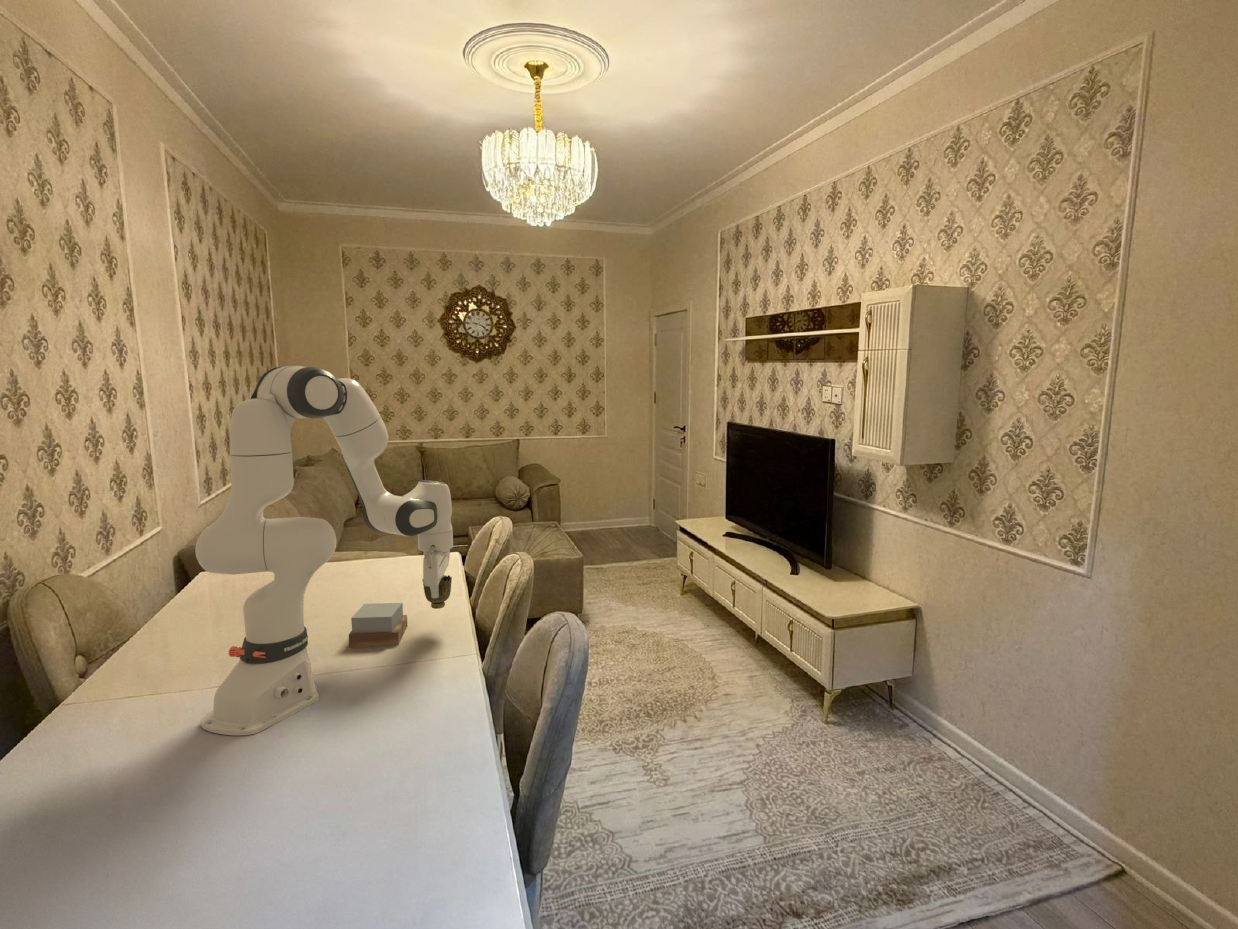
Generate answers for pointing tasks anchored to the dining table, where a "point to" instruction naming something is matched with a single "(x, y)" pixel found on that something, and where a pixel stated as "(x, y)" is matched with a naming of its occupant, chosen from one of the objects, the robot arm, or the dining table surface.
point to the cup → (443, 593)
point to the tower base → (378, 636)
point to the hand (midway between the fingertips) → (437, 593)
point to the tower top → (377, 617)
